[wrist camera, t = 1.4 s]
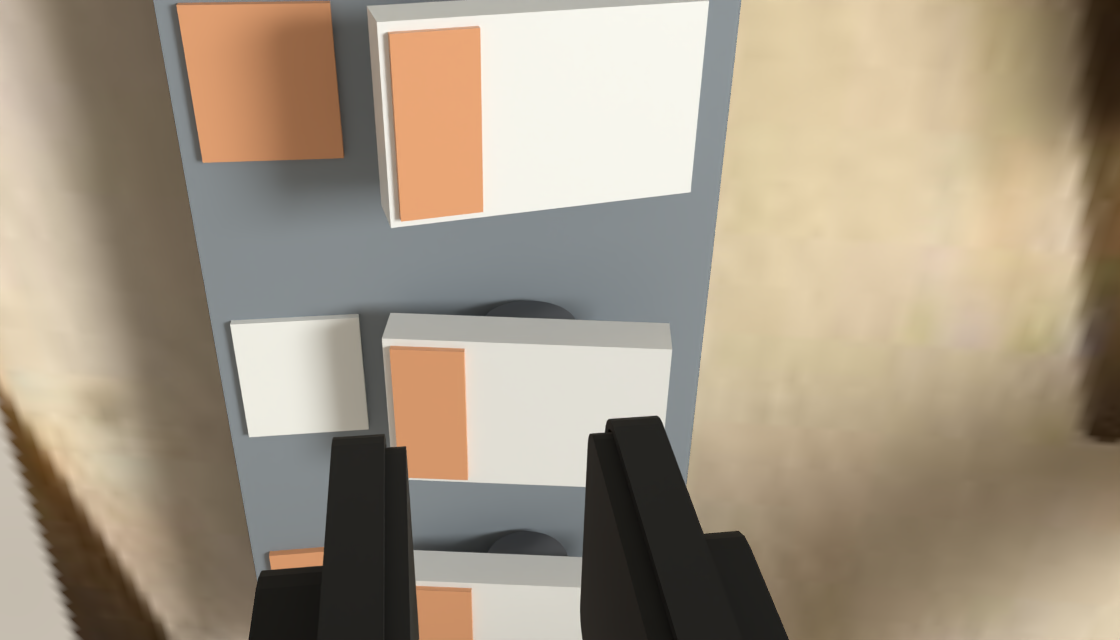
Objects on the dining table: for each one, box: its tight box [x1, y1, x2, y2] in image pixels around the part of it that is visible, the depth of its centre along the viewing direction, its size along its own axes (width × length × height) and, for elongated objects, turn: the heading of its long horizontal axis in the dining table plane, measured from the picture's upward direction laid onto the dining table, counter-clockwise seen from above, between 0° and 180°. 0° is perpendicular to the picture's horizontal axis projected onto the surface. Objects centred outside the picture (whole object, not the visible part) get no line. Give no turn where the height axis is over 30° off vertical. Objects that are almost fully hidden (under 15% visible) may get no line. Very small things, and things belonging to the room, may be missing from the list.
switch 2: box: [382, 301, 672, 487], centre depth 27 cm, size 7×4×3 cm, turn 89°
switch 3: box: [413, 531, 582, 640], centre depth 31 cm, size 7×4×3 cm, turn 89°
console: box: [153, 0, 741, 582], centre depth 30 cm, size 13×25×4 cm, turn 179°
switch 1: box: [367, 0, 709, 228], centre depth 23 cm, size 7×4×3 cm, turn 89°
